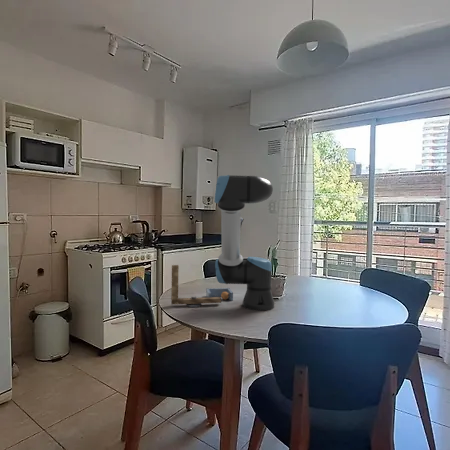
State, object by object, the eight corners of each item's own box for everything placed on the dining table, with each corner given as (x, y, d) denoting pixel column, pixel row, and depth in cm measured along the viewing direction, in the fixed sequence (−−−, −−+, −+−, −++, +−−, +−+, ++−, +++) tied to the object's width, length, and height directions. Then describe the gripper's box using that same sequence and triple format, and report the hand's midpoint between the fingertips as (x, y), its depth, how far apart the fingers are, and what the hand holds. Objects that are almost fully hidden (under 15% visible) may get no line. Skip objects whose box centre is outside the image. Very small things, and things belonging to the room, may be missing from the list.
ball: (231, 295, 176) (227, 289, 175) (228, 300, 173) (224, 293, 172) (225, 297, 178) (221, 290, 177) (222, 301, 175) (218, 295, 174)
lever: (219, 301, 167) (220, 264, 166) (221, 302, 164) (221, 265, 164) (171, 302, 163) (171, 265, 162) (171, 304, 160) (172, 266, 159)
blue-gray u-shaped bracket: (232, 300, 173) (233, 292, 173) (208, 301, 171) (208, 293, 171) (229, 295, 183) (229, 288, 183) (206, 295, 181) (206, 288, 181)
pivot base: (203, 304, 165) (203, 302, 165) (196, 308, 159) (196, 306, 159) (190, 302, 168) (190, 301, 168) (183, 306, 162) (183, 304, 162)
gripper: (247, 206, 192) (246, 247, 193) (229, 205, 201) (228, 245, 202) (238, 205, 187) (237, 248, 188) (220, 205, 195) (220, 246, 197)
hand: (233, 247), depth 195 cm, fingers closed
